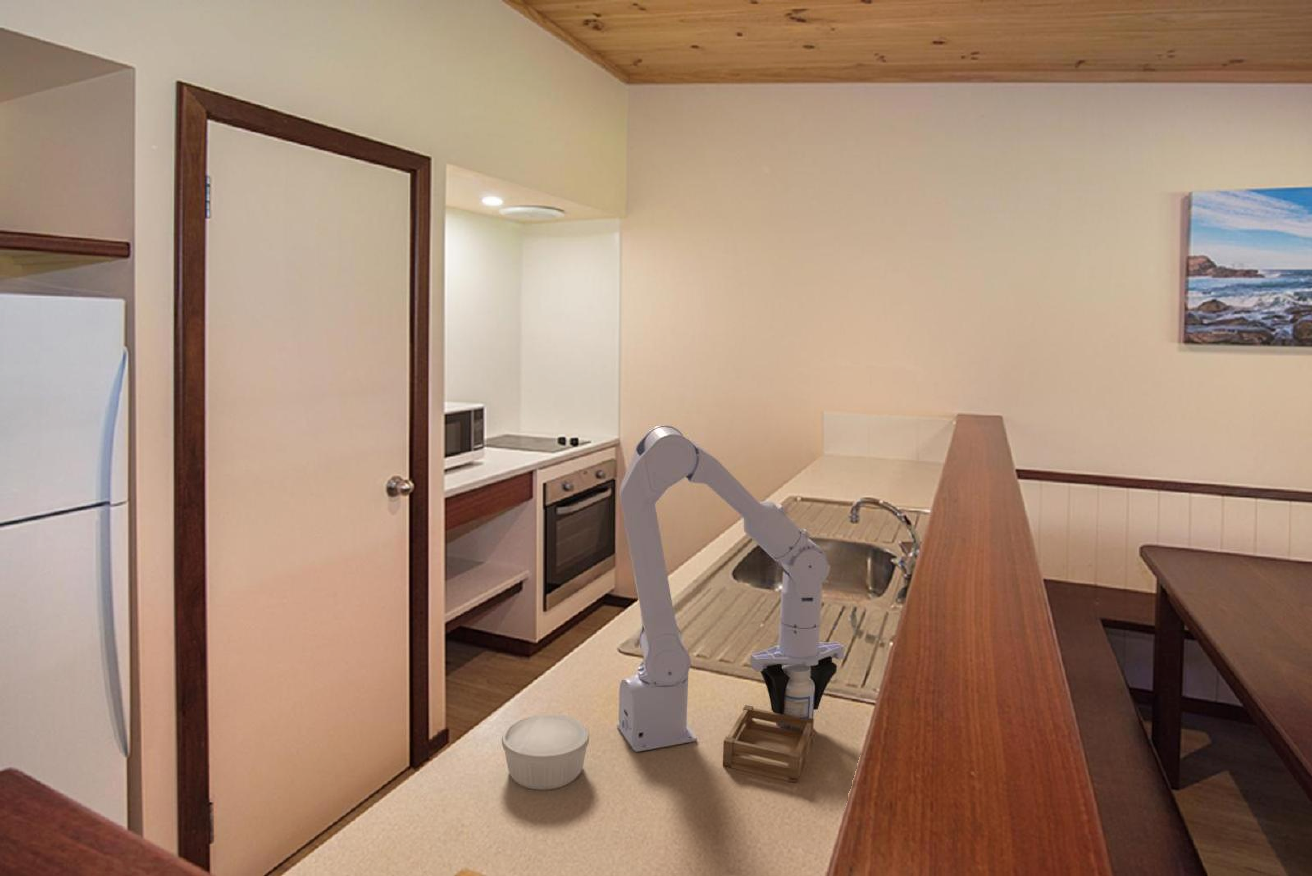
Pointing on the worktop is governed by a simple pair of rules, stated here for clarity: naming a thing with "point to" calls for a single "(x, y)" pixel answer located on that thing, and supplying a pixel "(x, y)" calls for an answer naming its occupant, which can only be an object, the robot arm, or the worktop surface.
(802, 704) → the pill bottle
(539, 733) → the ramekin
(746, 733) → the crate
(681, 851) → the worktop surface
